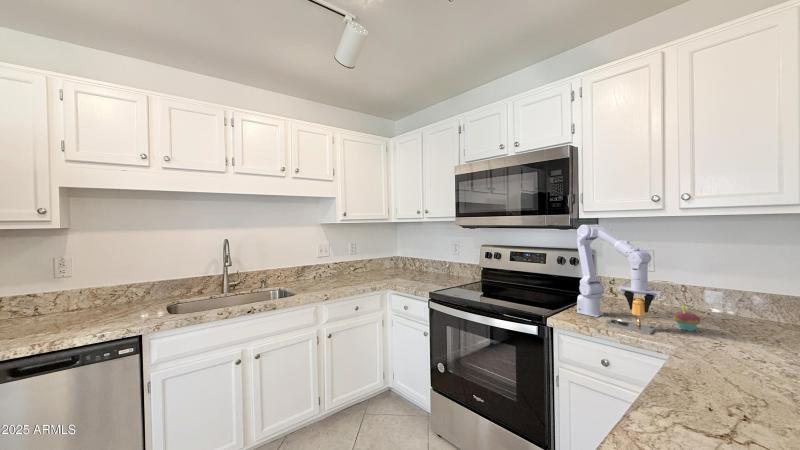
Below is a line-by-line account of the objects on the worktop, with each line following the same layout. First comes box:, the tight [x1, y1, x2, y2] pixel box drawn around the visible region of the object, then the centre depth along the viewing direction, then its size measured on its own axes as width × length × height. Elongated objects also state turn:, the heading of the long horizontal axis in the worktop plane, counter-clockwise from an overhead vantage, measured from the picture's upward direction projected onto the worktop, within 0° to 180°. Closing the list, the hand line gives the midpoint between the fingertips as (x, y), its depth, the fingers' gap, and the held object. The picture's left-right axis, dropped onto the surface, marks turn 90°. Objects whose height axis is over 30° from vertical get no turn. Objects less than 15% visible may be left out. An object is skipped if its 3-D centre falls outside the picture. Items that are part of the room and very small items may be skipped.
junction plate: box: [605, 317, 657, 335], centre depth 138 cm, size 16×9×4 cm, turn 39°
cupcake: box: [672, 302, 701, 332], centre depth 134 cm, size 9×8×12 cm
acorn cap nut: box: [631, 297, 647, 317], centre depth 135 cm, size 5×5×7 cm
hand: (639, 310), depth 135 cm, fingers closed on acorn cap nut, 5 cm apart
